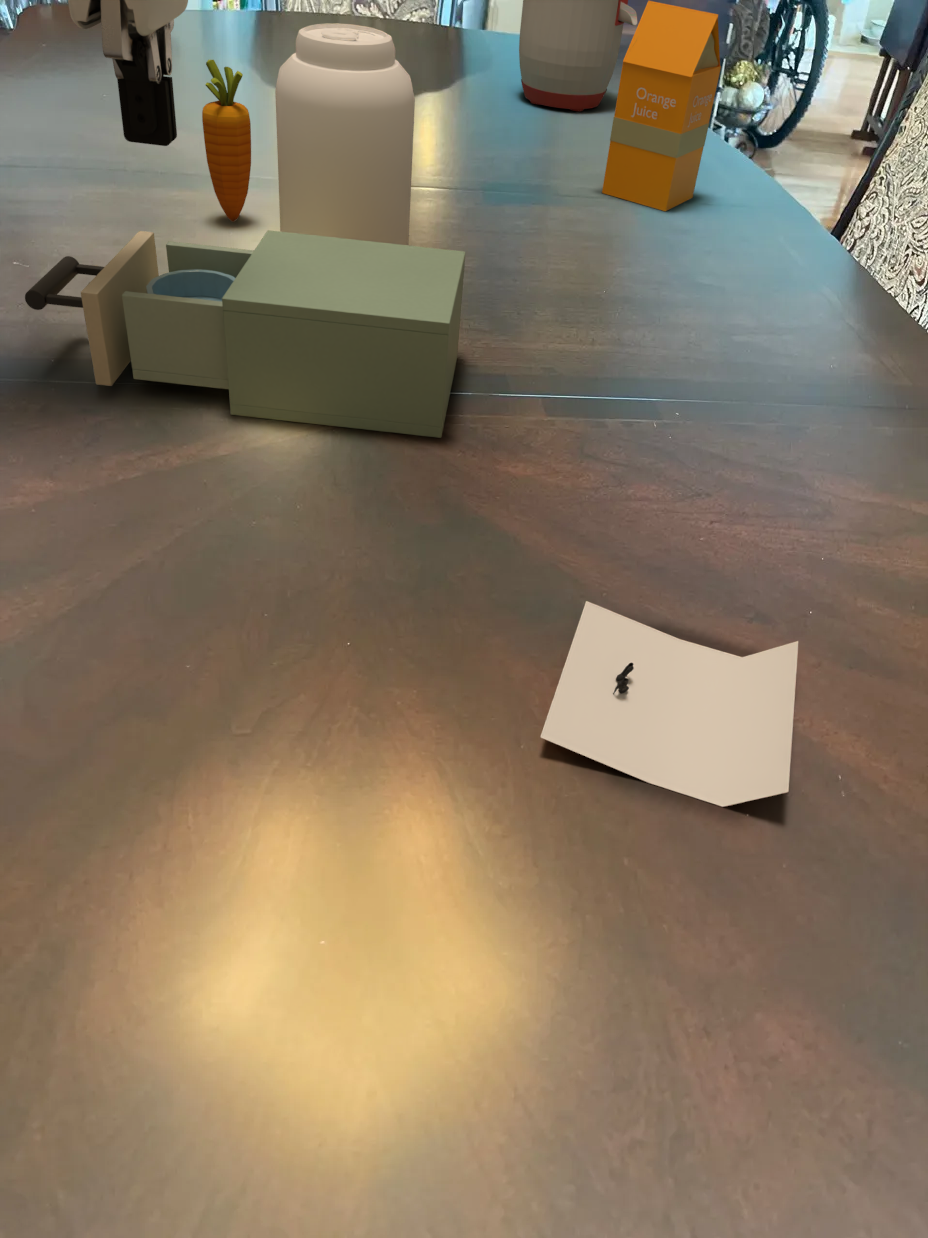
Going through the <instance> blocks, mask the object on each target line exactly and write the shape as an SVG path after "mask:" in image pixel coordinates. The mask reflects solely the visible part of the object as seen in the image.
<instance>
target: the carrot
mask: <svg viewBox="0 0 928 1238" xmlns="http://www.w3.org/2000/svg"><path fill="white" fill-rule="evenodd" d="M205 66H206V68H207V69H208V72H209V73H210V75H211V77H212V78H211V79H210V82H206V83H205V84H204V86H205V87H206V88H207V89H208V91H210V93H212V94H213V96H214V97H215V98H216V100H214V101H211V102H208V103H206V104H205V105H204V106H203V107H202V110H201V111H202V112H201V121H202V130H203V140H204V148H205V157H206V163H207V167H208V171H209V176H210V180H211V184H212V188H213V192H214V193H215V194H214V195H215V196H216V198H217V201H218V203H219V206H220V207H221V209H222V211H223V213H224V214H225V216H226V218H227V219H228V220H229V221H230V222H232V223H234V222H236V221H237V220H238V219H239V217H240V215H241V214H242V213H241V212H242V210H243V209H244V206H245V202H246V200H247V195H248V193H249V185H250V179H251V167H252V130H251V129H252V128H251V124H252V123H251V117H250V111H249V109H248V108H247V106H245V105H244V104H243V103H240V102H236V101H235V96H236V93H237V90H238V87H239V84H240V82H241V81H242V78H243V76H244V75H243V73H242V72H241V71H239V70H237V71H236V72H235V73H234V72H233V69H232V67H229V66H224V67H223V70H224V71H223V72H224V76H225V79H224V78H223V76H222V73H221V70H220V69H219V66H218V65H217V62H216V61H215V60H214V59H208V60H207V61H206V62H205ZM225 80H226V82H225ZM225 83H226V84H225Z"/></svg>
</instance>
